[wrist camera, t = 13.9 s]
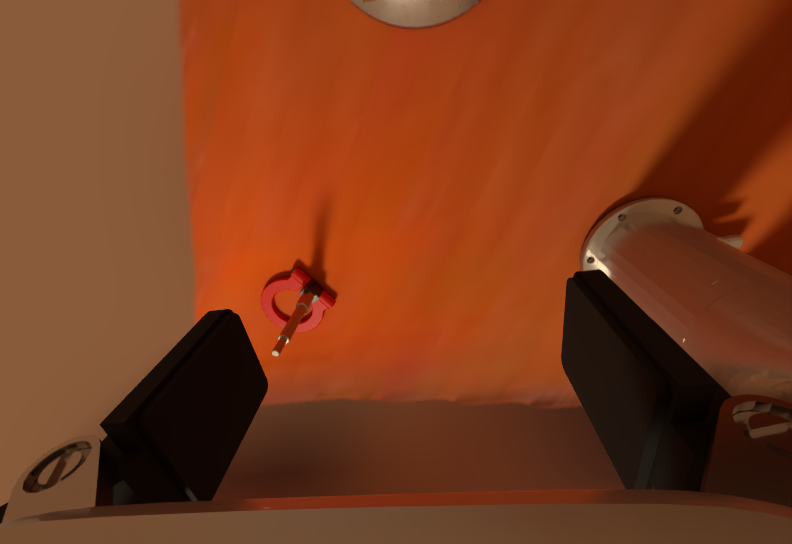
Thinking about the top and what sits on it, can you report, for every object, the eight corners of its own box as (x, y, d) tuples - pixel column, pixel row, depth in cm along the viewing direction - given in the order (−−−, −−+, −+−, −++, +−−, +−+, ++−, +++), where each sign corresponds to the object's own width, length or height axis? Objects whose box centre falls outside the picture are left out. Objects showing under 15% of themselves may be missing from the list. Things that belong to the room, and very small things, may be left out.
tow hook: (299, 336, 50) (342, 303, 46) (259, 412, 38) (312, 375, 35) (252, 298, 47) (294, 259, 43) (194, 367, 36) (245, 322, 32)
